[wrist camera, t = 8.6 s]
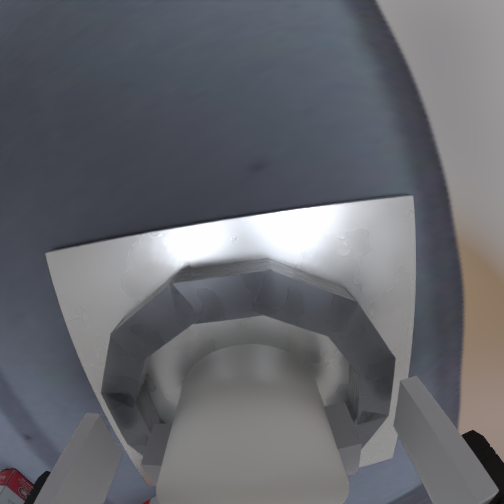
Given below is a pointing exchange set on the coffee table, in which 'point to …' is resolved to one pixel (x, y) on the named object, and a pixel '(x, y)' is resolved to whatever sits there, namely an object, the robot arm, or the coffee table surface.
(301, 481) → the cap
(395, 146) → the coffee table surface
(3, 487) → the ink box
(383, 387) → the ring holder plate
